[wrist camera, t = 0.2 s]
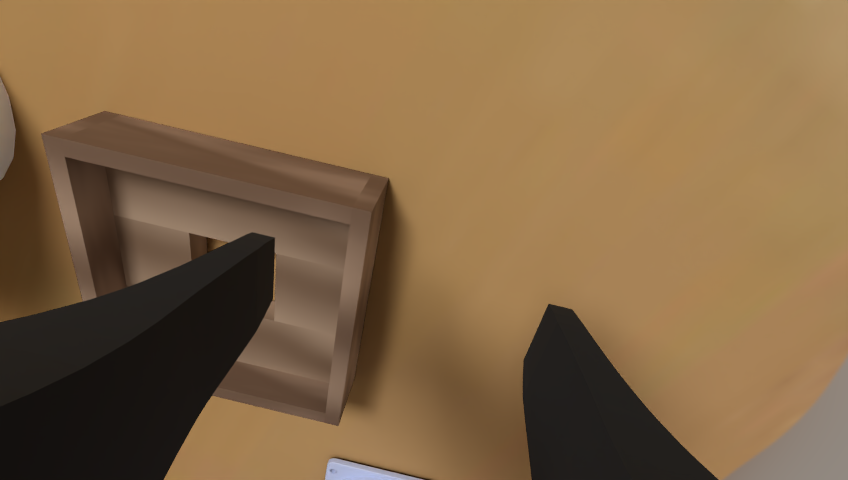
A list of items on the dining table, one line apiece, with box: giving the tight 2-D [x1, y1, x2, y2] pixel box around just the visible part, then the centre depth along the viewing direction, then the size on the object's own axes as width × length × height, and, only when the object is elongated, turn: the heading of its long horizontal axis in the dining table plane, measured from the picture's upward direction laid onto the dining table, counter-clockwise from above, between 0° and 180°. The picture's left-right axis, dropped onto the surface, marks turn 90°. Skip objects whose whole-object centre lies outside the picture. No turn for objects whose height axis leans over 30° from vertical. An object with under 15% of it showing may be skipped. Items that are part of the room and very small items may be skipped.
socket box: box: [41, 111, 389, 426], centre depth 23 cm, size 14×14×4 cm
